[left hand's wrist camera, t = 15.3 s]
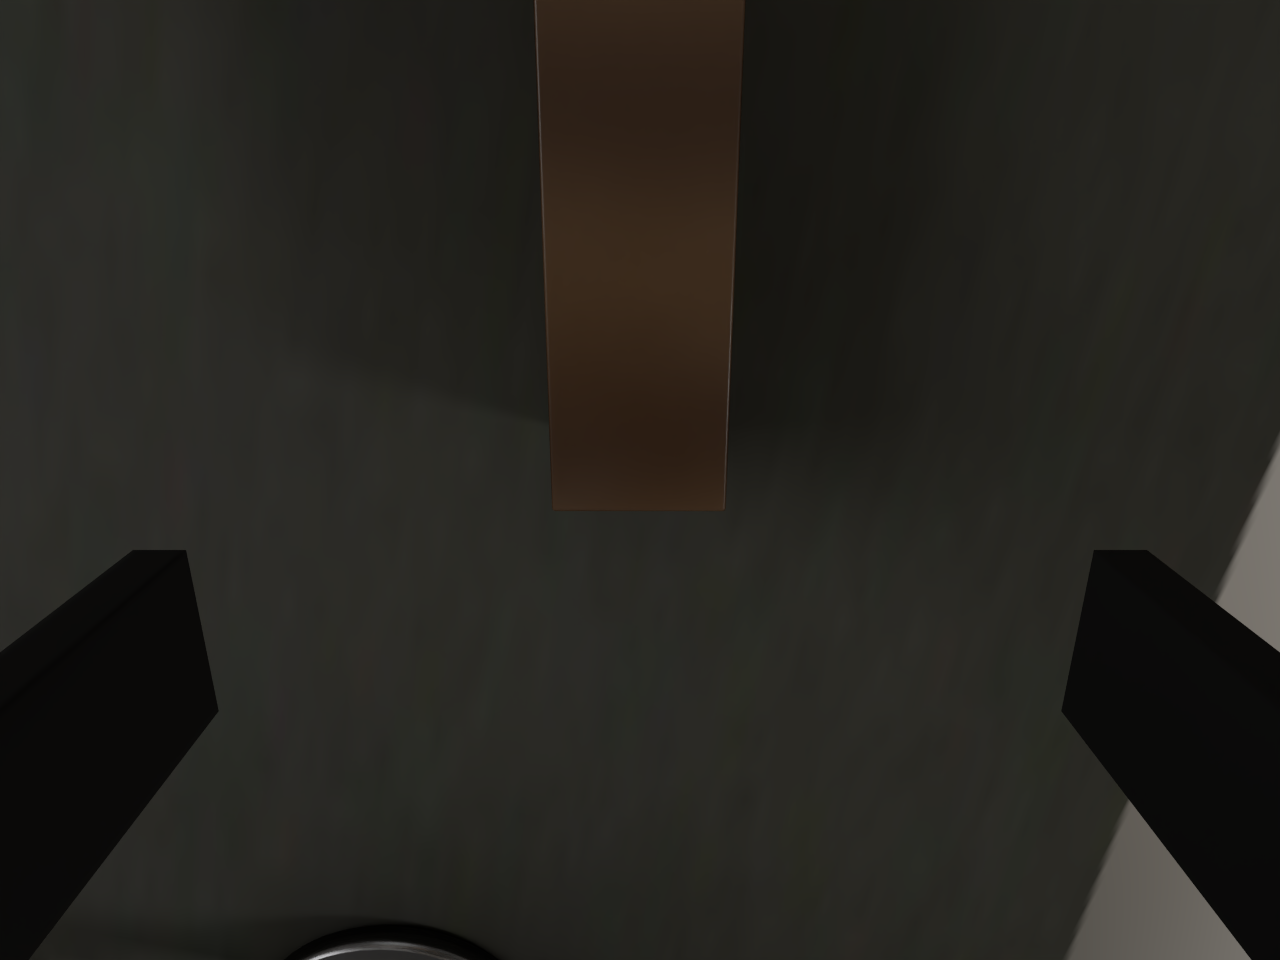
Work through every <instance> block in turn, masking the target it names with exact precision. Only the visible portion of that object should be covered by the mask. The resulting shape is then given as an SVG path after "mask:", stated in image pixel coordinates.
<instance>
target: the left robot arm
mask: <svg viewBox="0 0 1280 960" xmlns="http://www.w3.org/2000/svg"><path fill="white" fill-rule="evenodd" d="M217 712H218V706H217V701H216V696H215V691H214V686H213V681H212V676H211V671H210V666H209V661H208V656H207V651H206V647H205V642H204V637H203V632H202V627H201V622H200V617H199V612H198V607H197V602H196V597H195V592H194V587H193V582H192V577H191V573H190V568H189V563H188V558H187V553H186V550H133V551H131V552H130V553H129V554H127V555H126V556H125V557H123V558H122V559H121V560H120V561H118V562H117V563H116V564H114V565H113V566H112V567H111V568H109V569H108V570H107V571H105V572H104V573H103V574H101V575H100V576H99V577H98V578H96V579H95V580H94V581H92V582H91V583H90V584H88V585H87V586H86V587H85V588H83V589H82V590H81V591H79V592H78V593H77V594H75V595H74V596H73V597H72V598H70V599H69V600H68V601H66V602H65V603H64V604H62V605H61V606H60V607H59V608H57V609H56V610H55V611H53V612H52V613H51V614H49V615H48V616H47V617H46V618H44V619H43V620H42V621H40V622H39V623H38V624H37V625H35V626H34V627H33V628H31V629H30V630H29V631H27V632H26V633H25V634H24V635H22V636H21V637H20V638H18V639H17V640H16V641H14V642H13V643H12V644H11V645H9V646H8V647H7V648H5V649H4V650H3V651H1V652H0V960H29V958H30V957H31V956H32V955H33V953H34V952H35V951H36V949H37V948H38V947H39V945H40V944H41V943H42V941H43V940H44V939H45V938H46V936H47V935H48V934H49V932H50V931H51V930H52V928H53V927H54V926H55V924H56V923H57V922H58V921H59V919H60V918H61V917H62V915H63V914H64V913H65V911H66V910H67V909H68V907H69V906H70V905H71V903H72V902H73V901H74V900H75V898H76V897H77V896H78V894H79V893H80V892H81V890H82V889H83V888H84V886H85V885H86V884H87V883H88V881H89V880H90V879H91V877H92V876H93V875H94V873H95V872H96V871H97V869H98V868H99V867H100V866H101V864H102V863H103V862H104V860H105V859H106V858H107V856H108V855H109V854H110V852H111V851H112V850H113V849H114V847H115V846H116V845H117V843H118V842H119V841H120V839H121V838H122V837H123V835H124V834H125V833H126V832H127V830H128V829H129V828H130V826H131V825H132V824H133V822H134V821H135V820H136V818H137V817H138V816H139V815H140V813H141V812H142V811H143V809H144V808H145V807H146V805H147V804H148V803H149V801H150V800H151V799H152V798H153V796H154V795H155V794H156V792H157V791H158V790H159V788H160V787H161V786H162V784H163V783H164V782H165V781H166V779H167V778H168V777H169V775H170V774H171V773H172V771H173V770H174V769H175V767H176V766H177V765H178V764H179V762H180V761H181V760H182V758H183V757H184V756H185V754H186V753H187V752H188V750H189V749H190V748H191V746H192V745H193V744H194V743H195V741H196V740H197V739H198V737H199V736H200V735H201V733H202V732H203V731H204V729H205V728H206V727H207V726H208V724H209V723H210V722H211V720H212V719H213V718H214V716H215V715H216V714H217ZM1062 712H1063V714H1064V715H1065V716H1066V718H1067V719H1068V720H1069V722H1070V723H1071V724H1072V726H1073V727H1074V728H1075V729H1076V731H1077V732H1078V733H1079V735H1080V736H1081V737H1082V739H1083V740H1084V741H1085V743H1086V744H1087V745H1088V746H1089V748H1090V749H1091V750H1092V752H1093V753H1094V754H1095V756H1096V757H1097V758H1098V760H1099V761H1100V762H1101V764H1102V765H1103V766H1104V767H1105V769H1106V770H1107V771H1108V773H1109V774H1110V775H1111V777H1112V778H1113V779H1114V781H1115V782H1116V783H1117V784H1118V786H1119V787H1120V788H1121V790H1122V791H1123V792H1124V794H1125V795H1126V796H1127V798H1128V799H1129V800H1130V801H1131V803H1132V804H1133V805H1134V807H1135V808H1136V809H1137V811H1138V812H1139V813H1140V815H1141V816H1142V817H1143V818H1144V820H1145V821H1146V822H1147V824H1148V825H1149V826H1150V828H1151V829H1152V830H1153V832H1154V833H1155V834H1156V835H1157V837H1158V838H1159V839H1160V841H1161V842H1162V843H1163V845H1164V846H1165V847H1166V849H1167V850H1168V851H1169V852H1170V854H1171V855H1172V856H1173V858H1174V859H1175V860H1176V862H1177V863H1178V864H1179V866H1180V867H1181V868H1182V869H1183V871H1184V872H1185V873H1186V875H1187V876H1188V877H1189V879H1190V880H1191V881H1192V883H1193V884H1194V885H1195V886H1196V888H1197V889H1198V890H1199V892H1200V893H1201V894H1202V896H1203V897H1204V898H1205V900H1206V901H1207V902H1208V903H1209V905H1210V906H1211V907H1212V909H1213V910H1214V911H1215V913H1216V914H1217V915H1218V917H1219V918H1220V919H1221V920H1222V922H1223V923H1224V924H1225V926H1226V927H1227V928H1228V930H1229V931H1230V932H1231V934H1232V935H1233V936H1234V938H1235V939H1236V940H1237V941H1238V943H1239V944H1240V945H1241V947H1242V948H1243V949H1244V951H1245V952H1246V953H1247V955H1248V956H1249V957H1250V958H1251V960H1280V652H1279V651H1277V650H1276V649H1275V648H1273V647H1272V646H1271V645H1269V644H1268V643H1267V642H1265V641H1264V640H1263V639H1262V638H1260V637H1259V636H1258V635H1256V634H1255V633H1254V632H1253V631H1251V630H1250V629H1249V628H1247V627H1246V626H1245V625H1244V624H1242V623H1241V622H1240V621H1238V620H1237V619H1236V618H1234V617H1233V616H1232V615H1230V614H1229V613H1228V612H1227V611H1225V610H1224V609H1223V608H1221V607H1220V606H1219V605H1218V604H1216V603H1215V602H1214V601H1212V600H1211V599H1210V598H1208V597H1207V596H1206V595H1205V594H1203V593H1202V592H1201V591H1199V590H1198V589H1197V588H1195V587H1194V586H1193V585H1192V584H1190V583H1189V582H1188V581H1186V580H1185V579H1184V578H1182V577H1181V576H1180V575H1179V574H1177V573H1176V572H1175V571H1173V570H1172V569H1171V568H1169V567H1168V566H1167V565H1166V564H1164V563H1163V562H1162V561H1160V560H1159V559H1158V558H1157V557H1155V556H1154V555H1153V554H1151V553H1150V552H1149V551H1147V550H1094V553H1093V558H1092V563H1091V568H1090V573H1089V577H1088V582H1087V587H1086V592H1085V597H1084V602H1083V607H1082V612H1081V617H1080V622H1079V627H1078V632H1077V637H1076V642H1075V647H1074V651H1073V656H1072V661H1071V666H1070V671H1069V676H1068V681H1067V686H1066V691H1065V696H1064V701H1063V706H1062ZM284 960H497V959H496V958H494V957H493V956H491V955H490V954H488V953H487V952H485V951H483V950H482V949H480V948H478V947H476V946H474V945H472V944H470V943H467V942H465V941H462V940H460V939H457V938H455V937H452V936H449V935H446V934H442V933H439V932H434V931H430V930H426V929H420V928H414V927H404V926H368V927H360V928H353V929H348V930H344V931H339V932H336V933H333V934H329V935H326V936H324V937H321V938H319V939H316V940H314V941H312V942H310V943H308V944H306V945H304V946H302V947H301V948H299V949H298V950H296V951H295V952H293V953H292V954H291V955H289V956H288V957H287V958H286V959H284Z"/></svg>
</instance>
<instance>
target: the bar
mask: <svg viewBox="0 0 1280 960" xmlns="http://www.w3.org/2000/svg"><path fill="white" fill-rule="evenodd" d="M533 2H534V29H535V56H536V83H537V110H538V137H539V164H540V191H541V218H542V245H543V272H544V299H545V326H546V353H547V380H548V407H549V434H550V461H551V488H552V508H553V510H554V511H724V510H725V508H726V486H727V461H728V435H729V409H730V384H731V358H732V332H733V307H734V281H735V255H736V229H737V204H738V178H739V152H740V127H741V101H742V75H743V50H744V24H745V0H533Z"/></svg>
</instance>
